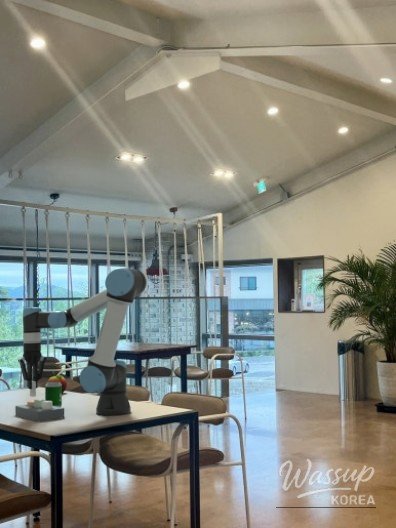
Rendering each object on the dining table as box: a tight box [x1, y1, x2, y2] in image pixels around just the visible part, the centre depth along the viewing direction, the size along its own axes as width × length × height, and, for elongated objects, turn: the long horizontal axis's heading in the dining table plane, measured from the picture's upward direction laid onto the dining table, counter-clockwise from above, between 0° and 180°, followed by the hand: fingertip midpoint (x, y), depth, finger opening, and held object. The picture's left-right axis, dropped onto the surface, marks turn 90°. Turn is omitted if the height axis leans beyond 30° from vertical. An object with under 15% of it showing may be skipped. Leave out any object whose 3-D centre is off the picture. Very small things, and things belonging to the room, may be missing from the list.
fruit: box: [46, 374, 68, 394], centre depth 359 cm, size 11×11×10 cm
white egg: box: [42, 401, 52, 410], centre depth 278 cm, size 4×4×5 cm
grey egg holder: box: [14, 404, 65, 422], centre depth 283 cm, size 22×12×4 cm, turn 40°
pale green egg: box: [33, 398, 45, 408], centre depth 283 cm, size 4×4×5 cm
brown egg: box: [26, 400, 34, 407], centre depth 288 cm, size 4×4×5 cm
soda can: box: [44, 381, 63, 408], centre depth 305 cm, size 8×8×12 cm
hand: (32, 396), depth 289 cm, fingers closed
